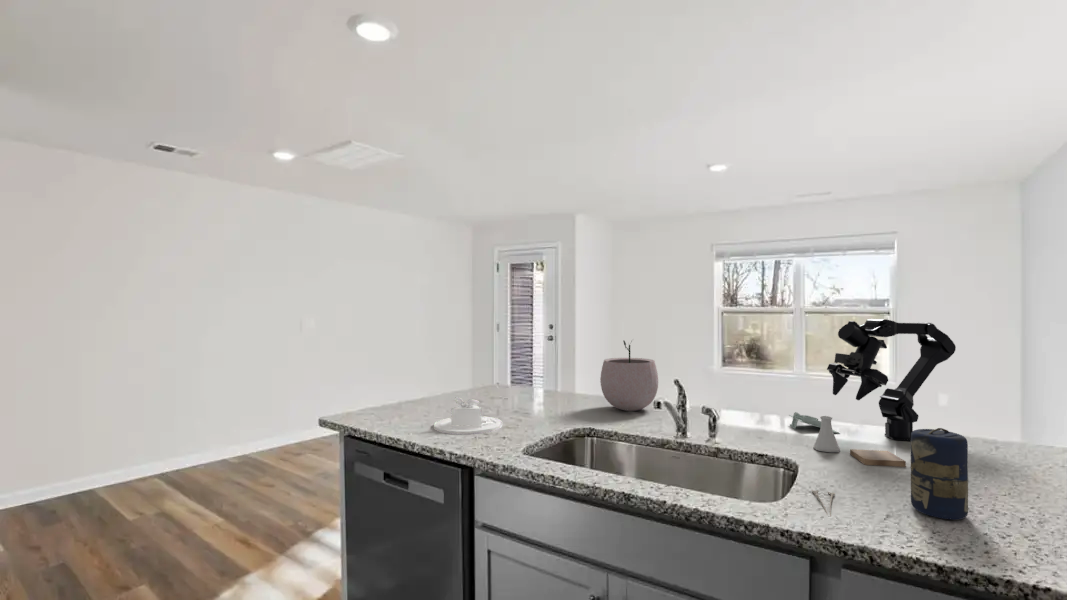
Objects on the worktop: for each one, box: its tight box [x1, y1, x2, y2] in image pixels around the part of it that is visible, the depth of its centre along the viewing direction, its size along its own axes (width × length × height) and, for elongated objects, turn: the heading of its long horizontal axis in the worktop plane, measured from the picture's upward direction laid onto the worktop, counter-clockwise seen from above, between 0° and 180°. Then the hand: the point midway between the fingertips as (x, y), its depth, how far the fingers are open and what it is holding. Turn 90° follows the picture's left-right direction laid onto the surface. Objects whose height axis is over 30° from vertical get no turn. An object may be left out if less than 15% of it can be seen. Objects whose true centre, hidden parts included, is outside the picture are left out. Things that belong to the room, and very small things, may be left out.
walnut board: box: [849, 448, 907, 468], centre depth 146 cm, size 10×10×2 cm
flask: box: [813, 415, 841, 453], centre depth 156 cm, size 7×7×10 cm
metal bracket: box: [788, 411, 841, 435], centre depth 183 cm, size 14×6×15 cm
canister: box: [909, 427, 969, 521], centre depth 109 cm, size 10×10×18 cm
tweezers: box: [811, 489, 836, 517], centre depth 113 cm, size 17×5×2 cm, turn 155°
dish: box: [433, 396, 503, 435], centre depth 190 cm, size 25×25×11 cm
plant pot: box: [599, 338, 659, 412], centre depth 217 cm, size 24×24×30 cm
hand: (845, 397), depth 165 cm, fingers open, 9 cm apart
